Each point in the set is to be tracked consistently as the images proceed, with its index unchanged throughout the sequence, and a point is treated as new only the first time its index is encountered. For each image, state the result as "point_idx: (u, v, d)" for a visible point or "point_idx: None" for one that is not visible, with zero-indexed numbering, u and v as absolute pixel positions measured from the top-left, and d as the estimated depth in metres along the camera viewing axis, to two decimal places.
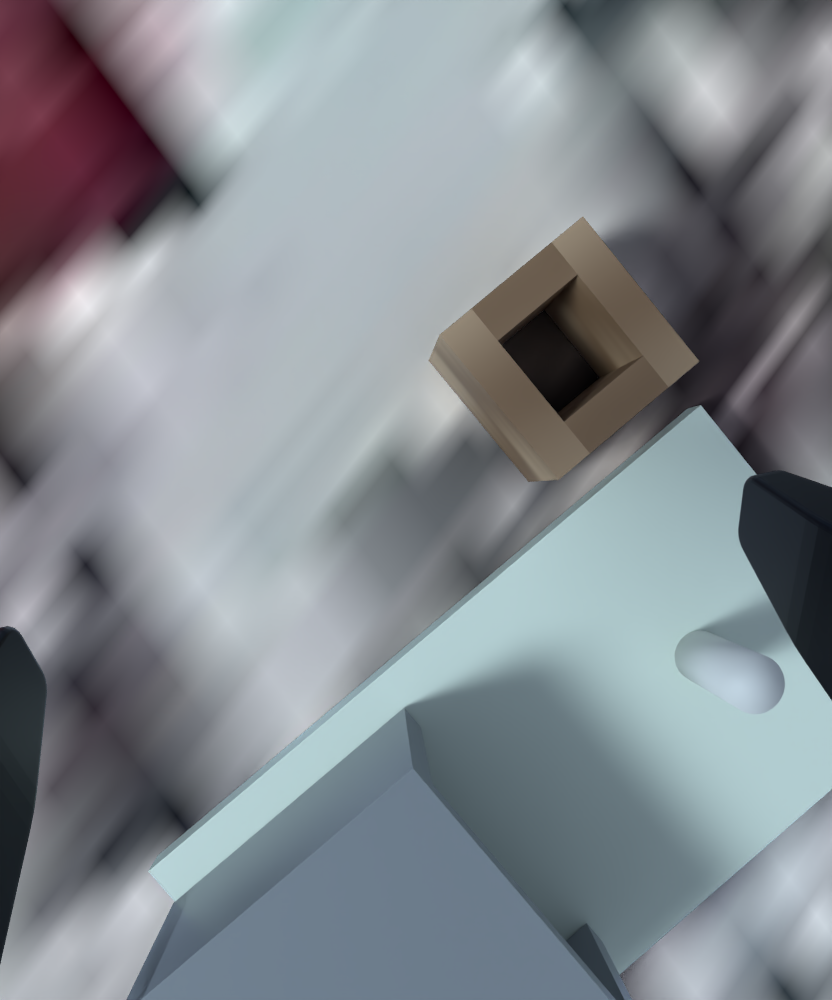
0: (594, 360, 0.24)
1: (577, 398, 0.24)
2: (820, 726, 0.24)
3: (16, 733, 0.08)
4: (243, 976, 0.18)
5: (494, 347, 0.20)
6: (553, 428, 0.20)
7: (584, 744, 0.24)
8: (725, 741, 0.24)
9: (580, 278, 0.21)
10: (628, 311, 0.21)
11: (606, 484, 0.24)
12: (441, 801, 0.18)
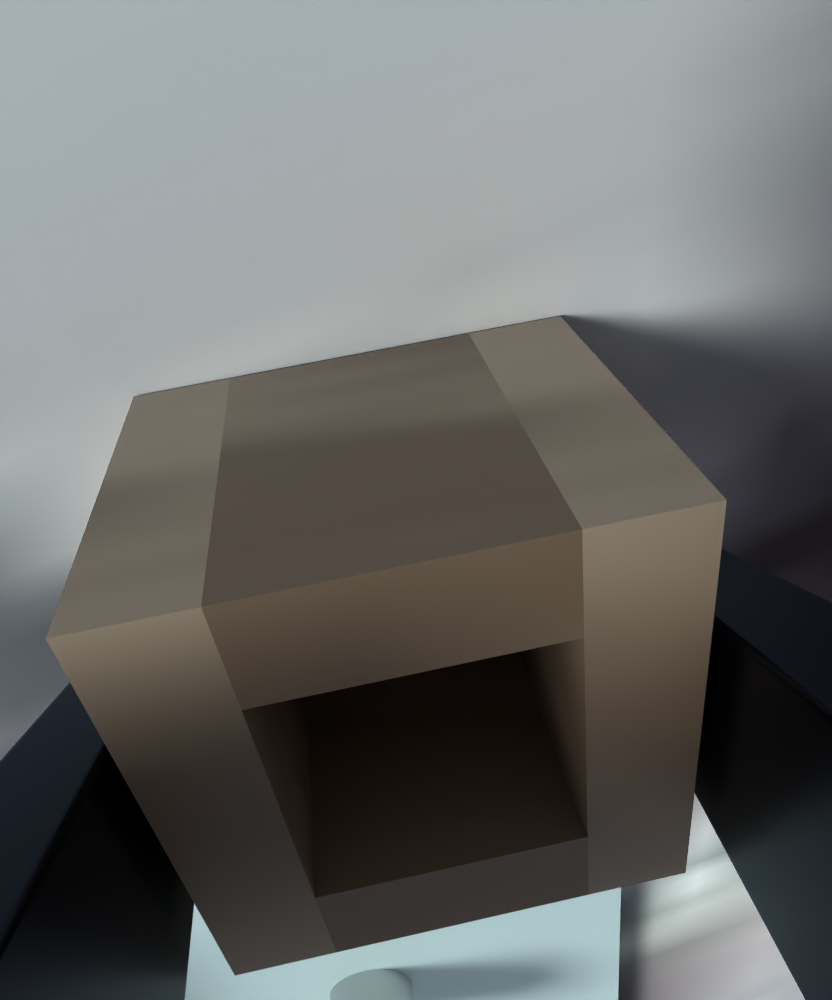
0: None
1: None
2: None
3: None
4: None
5: (222, 720, 0.06)
6: (281, 902, 0.08)
7: None
8: None
9: (584, 646, 0.06)
10: (632, 752, 0.07)
11: None
12: None
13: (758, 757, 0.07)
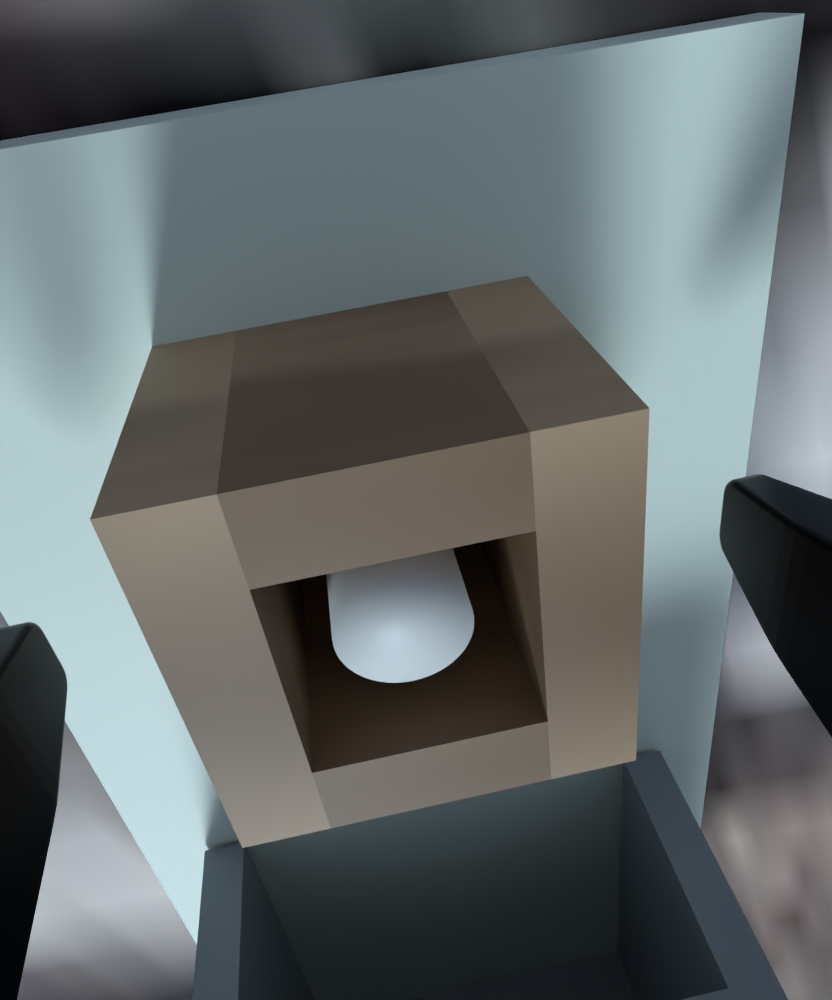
0: None
1: None
2: (648, 321, 0.11)
3: (39, 728, 0.08)
4: None
5: (233, 598, 0.07)
6: (282, 776, 0.09)
7: None
8: None
9: (536, 539, 0.07)
10: (583, 640, 0.08)
11: None
12: None
13: None
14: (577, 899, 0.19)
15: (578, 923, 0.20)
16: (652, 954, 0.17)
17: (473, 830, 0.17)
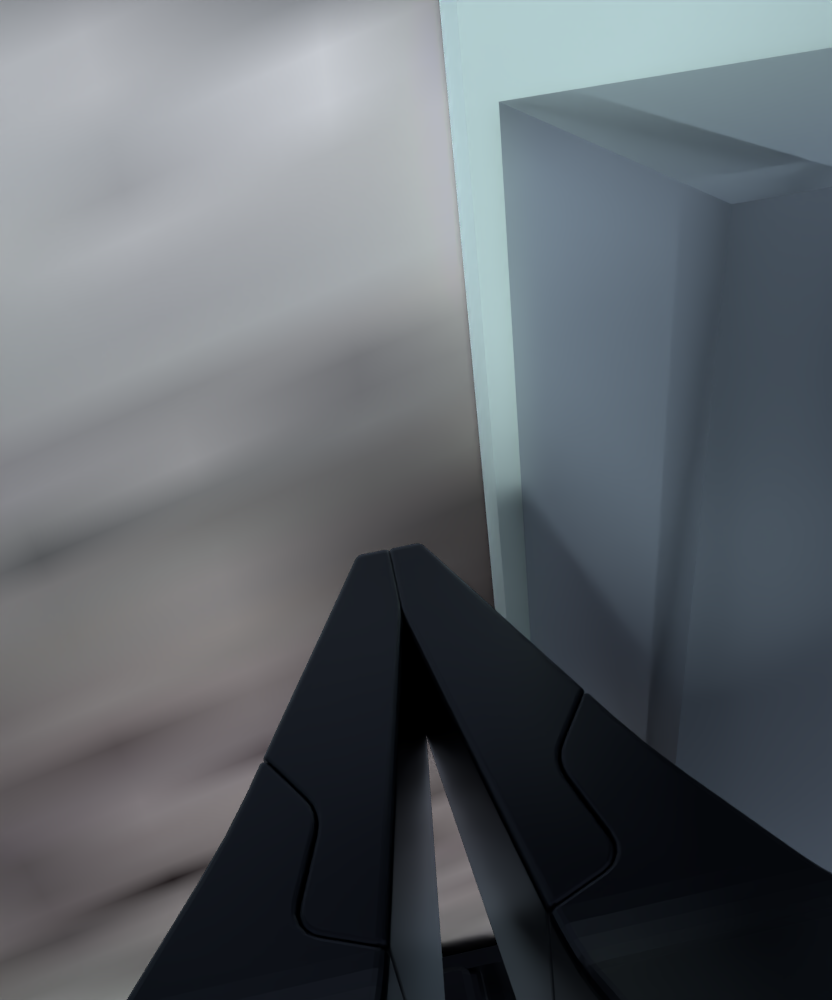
0: None
1: None
2: None
3: None
4: None
5: None
6: None
7: None
8: None
9: None
10: None
11: None
12: None
13: (475, 819, 0.06)
14: None
15: None
16: None
17: None
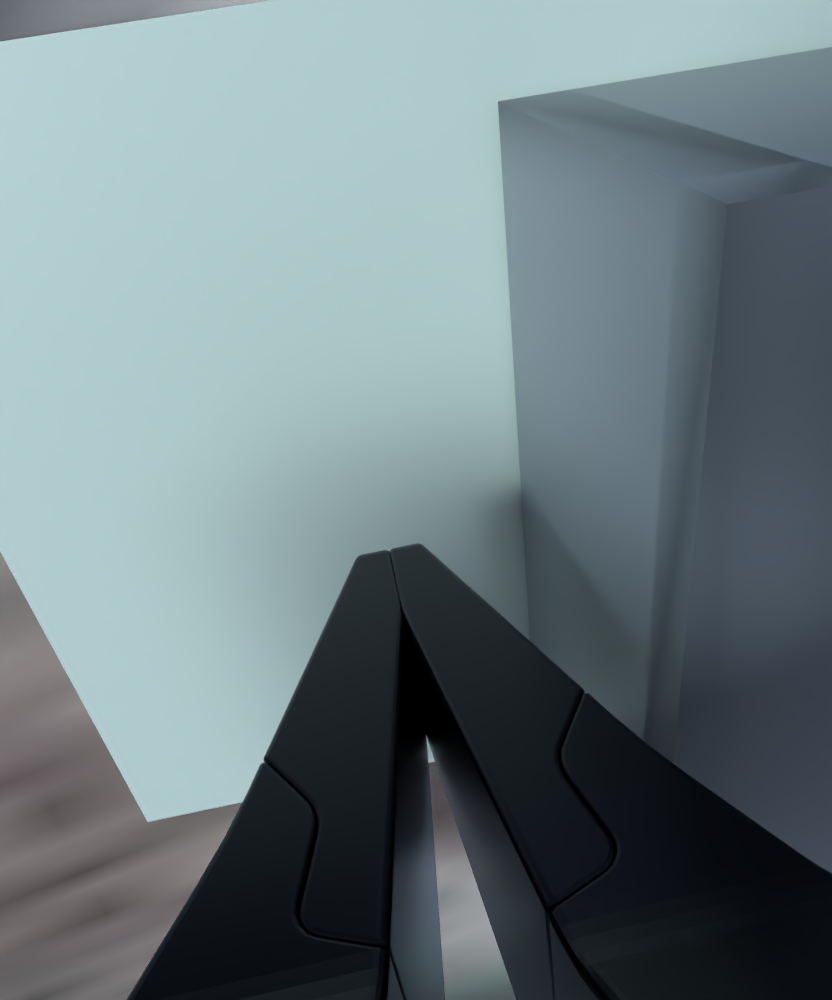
0: None
1: None
2: None
3: None
4: None
5: None
6: None
7: None
8: None
9: None
10: None
11: None
12: None
13: (474, 820, 0.06)
14: None
15: (243, 679, 0.12)
16: None
17: None
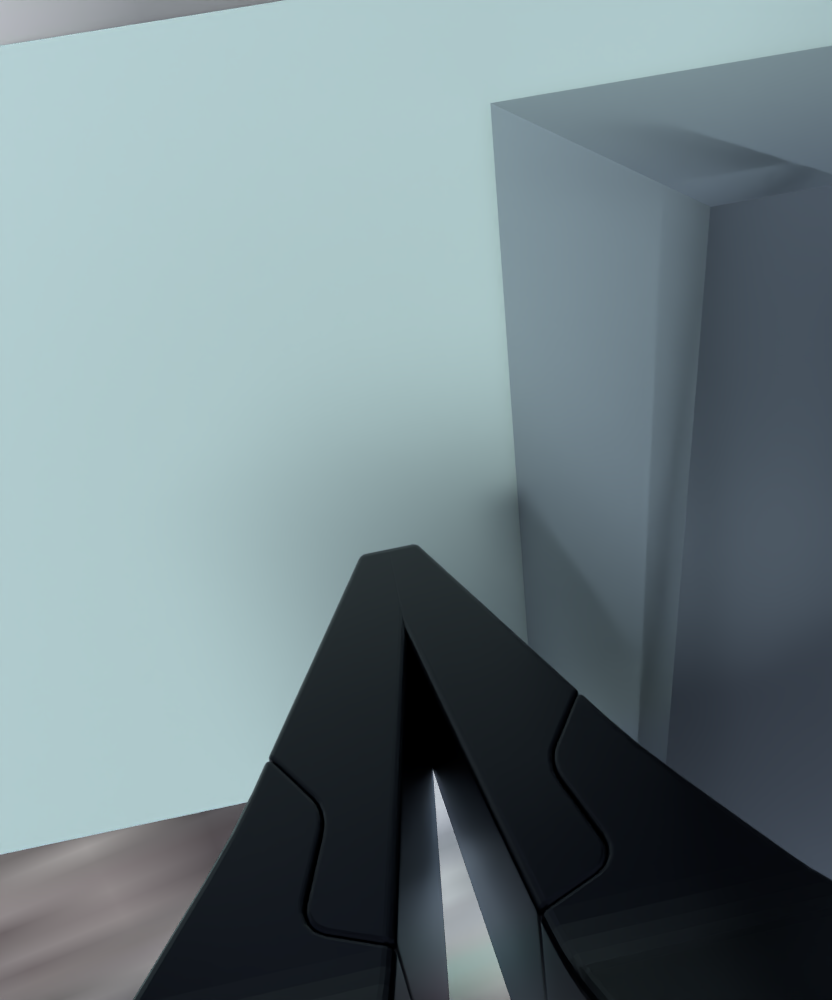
0: None
1: None
2: None
3: None
4: None
5: None
6: None
7: None
8: None
9: None
10: None
11: None
12: None
13: (469, 820, 0.06)
14: (16, 726, 0.12)
15: None
16: None
17: (213, 569, 0.11)
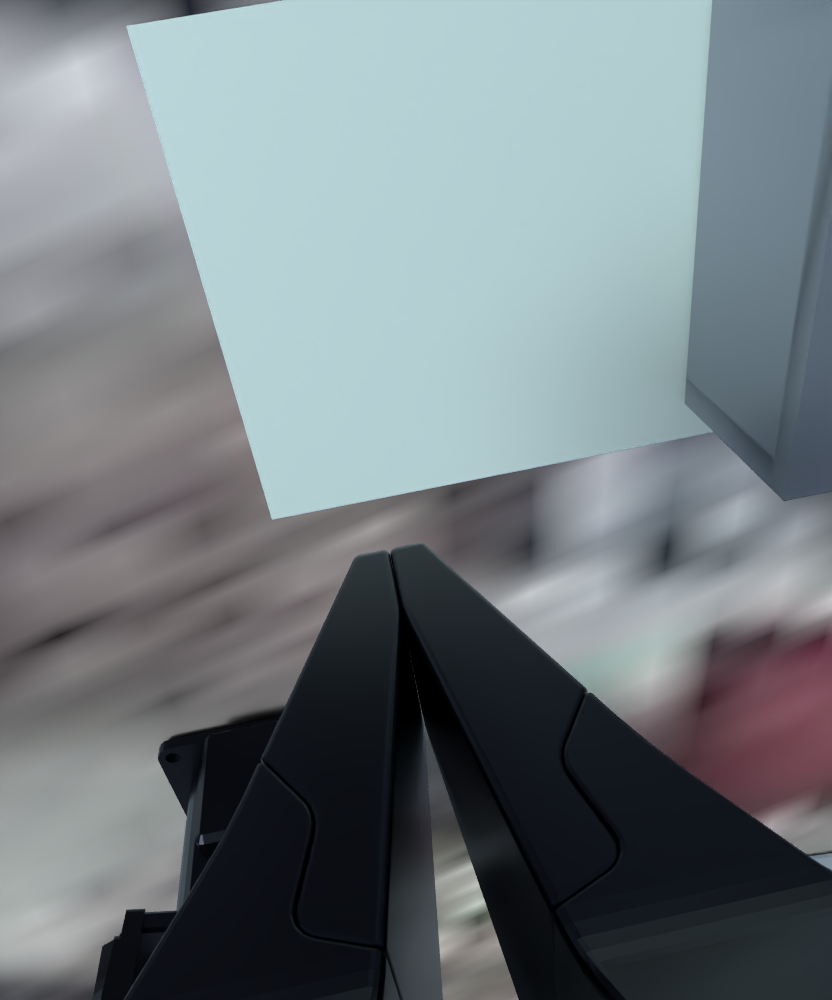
0: None
1: None
2: None
3: None
4: None
5: None
6: None
7: None
8: None
9: None
10: None
11: None
12: None
13: (477, 819, 0.06)
14: (382, 399, 0.20)
15: (339, 407, 0.20)
16: None
17: (518, 288, 0.19)
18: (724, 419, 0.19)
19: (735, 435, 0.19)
